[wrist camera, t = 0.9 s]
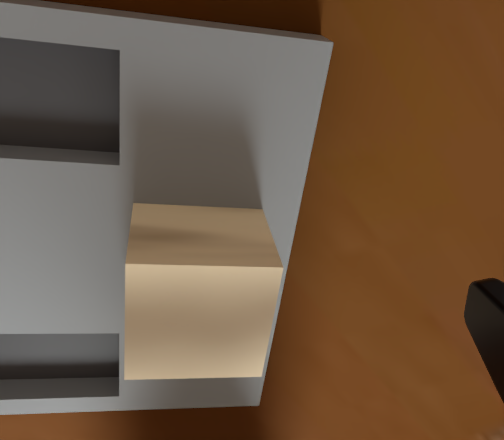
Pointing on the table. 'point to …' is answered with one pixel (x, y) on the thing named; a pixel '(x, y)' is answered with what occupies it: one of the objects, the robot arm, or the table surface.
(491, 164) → the table surface
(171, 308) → the maple block
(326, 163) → the table surface
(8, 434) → the table surface
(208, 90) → the board
